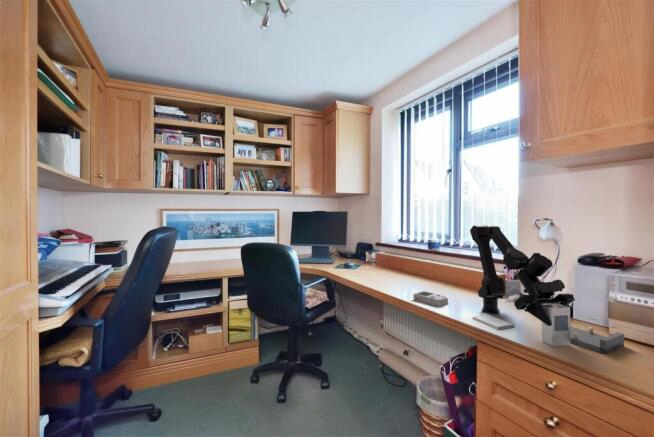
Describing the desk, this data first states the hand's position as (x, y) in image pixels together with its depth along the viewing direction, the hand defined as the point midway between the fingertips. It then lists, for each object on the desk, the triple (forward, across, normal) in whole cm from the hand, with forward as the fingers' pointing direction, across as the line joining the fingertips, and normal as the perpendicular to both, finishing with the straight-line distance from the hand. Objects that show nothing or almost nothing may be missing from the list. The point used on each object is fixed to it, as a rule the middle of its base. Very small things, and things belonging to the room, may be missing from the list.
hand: (559, 325), depth 93 cm
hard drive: (-10, -8, +20) cm, 24 cm away
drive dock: (+3, +11, +6) cm, 13 cm away
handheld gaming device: (-31, -20, +41) cm, 55 cm away
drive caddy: (+4, 0, +6) cm, 7 cm away
